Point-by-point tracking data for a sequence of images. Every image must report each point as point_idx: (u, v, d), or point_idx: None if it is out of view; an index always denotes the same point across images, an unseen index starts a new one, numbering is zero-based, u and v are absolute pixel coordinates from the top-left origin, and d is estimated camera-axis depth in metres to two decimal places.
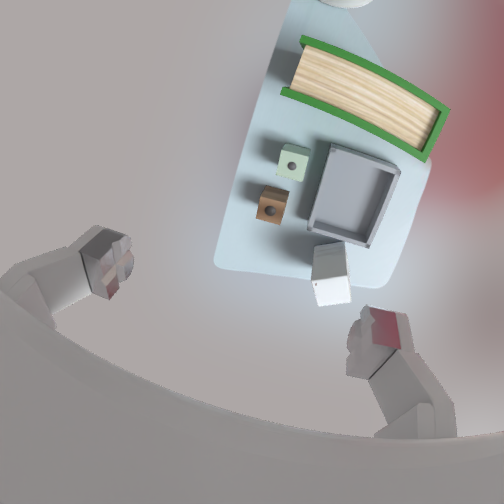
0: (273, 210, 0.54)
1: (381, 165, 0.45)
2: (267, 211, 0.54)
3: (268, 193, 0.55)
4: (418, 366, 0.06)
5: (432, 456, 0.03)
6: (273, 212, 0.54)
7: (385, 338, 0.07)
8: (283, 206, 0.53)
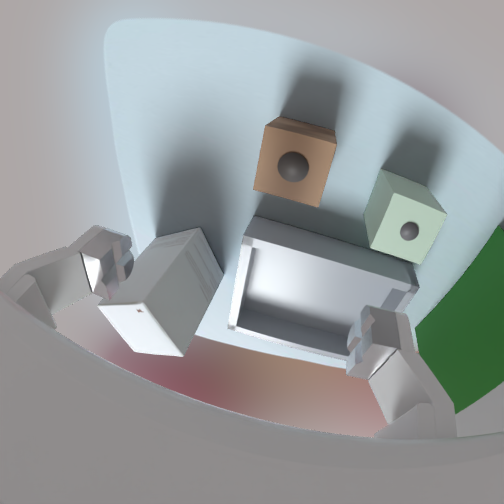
0: (294, 175, 0.19)
1: None
2: (291, 160, 0.18)
3: None
4: (418, 366, 0.06)
5: (432, 456, 0.03)
6: (288, 176, 0.19)
7: (385, 338, 0.07)
8: (308, 201, 0.20)
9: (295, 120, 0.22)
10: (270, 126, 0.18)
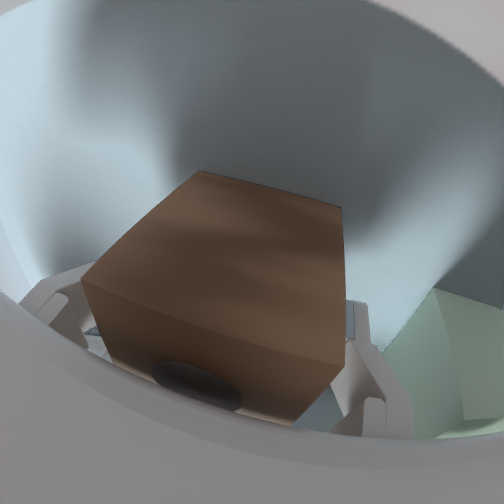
0: (204, 399, 0.06)
1: None
2: (183, 378, 0.05)
3: None
4: (372, 358, 0.06)
5: (432, 456, 0.03)
6: None
7: None
8: None
9: (237, 182, 0.09)
10: (98, 278, 0.05)
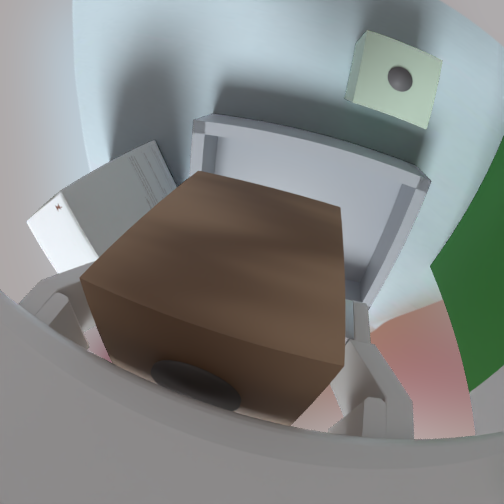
0: (203, 399, 0.06)
1: (381, 281, 0.23)
2: (182, 378, 0.05)
3: None
4: (372, 358, 0.06)
5: (432, 456, 0.03)
6: None
7: None
8: None
9: (236, 182, 0.09)
10: (97, 277, 0.05)
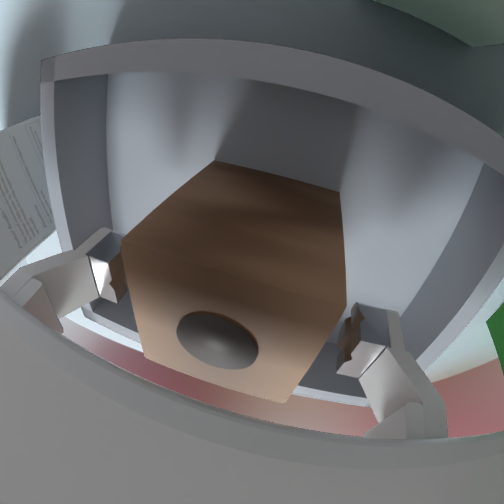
0: (222, 356, 0.07)
1: None
2: (207, 331, 0.07)
3: None
4: (408, 364, 0.06)
5: (432, 456, 0.03)
6: (209, 359, 0.07)
7: (374, 336, 0.07)
8: (261, 394, 0.08)
9: (248, 170, 0.10)
10: (137, 239, 0.06)
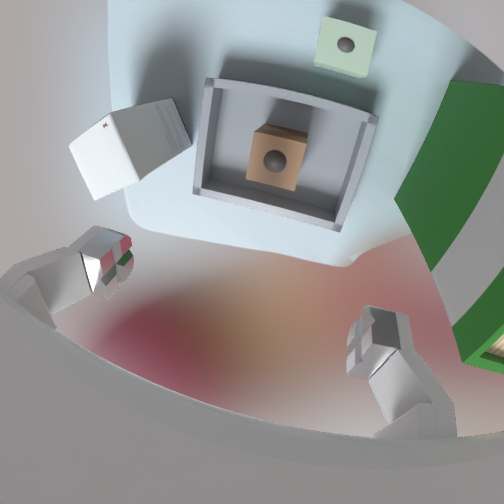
0: (276, 167, 0.26)
1: (349, 200, 0.29)
2: (273, 156, 0.25)
3: None
4: (418, 366, 0.06)
5: (432, 456, 0.03)
6: (271, 168, 0.26)
7: (385, 338, 0.07)
8: (286, 187, 0.27)
9: (277, 126, 0.29)
10: (257, 131, 0.24)
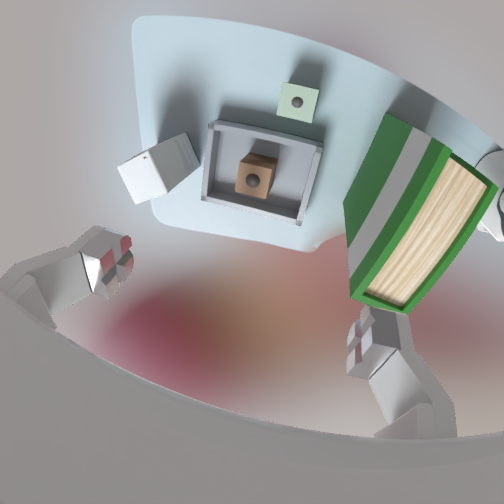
0: (253, 184, 0.41)
1: (305, 204, 0.44)
2: (251, 177, 0.41)
3: (273, 172, 0.42)
4: (418, 366, 0.06)
5: (432, 456, 0.03)
6: (251, 185, 0.42)
7: (385, 338, 0.07)
8: (260, 196, 0.42)
9: (257, 154, 0.44)
10: (241, 162, 0.40)
